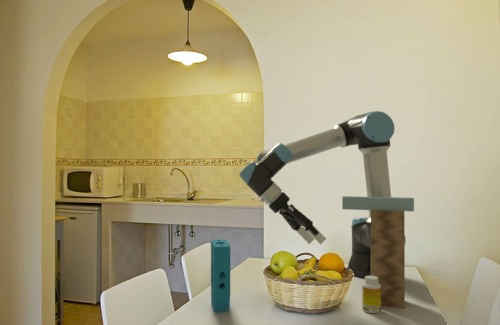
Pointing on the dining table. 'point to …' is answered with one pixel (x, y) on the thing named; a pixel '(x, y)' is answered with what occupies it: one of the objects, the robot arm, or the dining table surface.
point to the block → (220, 275)
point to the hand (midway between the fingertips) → (317, 241)
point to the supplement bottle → (371, 295)
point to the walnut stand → (389, 255)
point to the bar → (378, 203)
